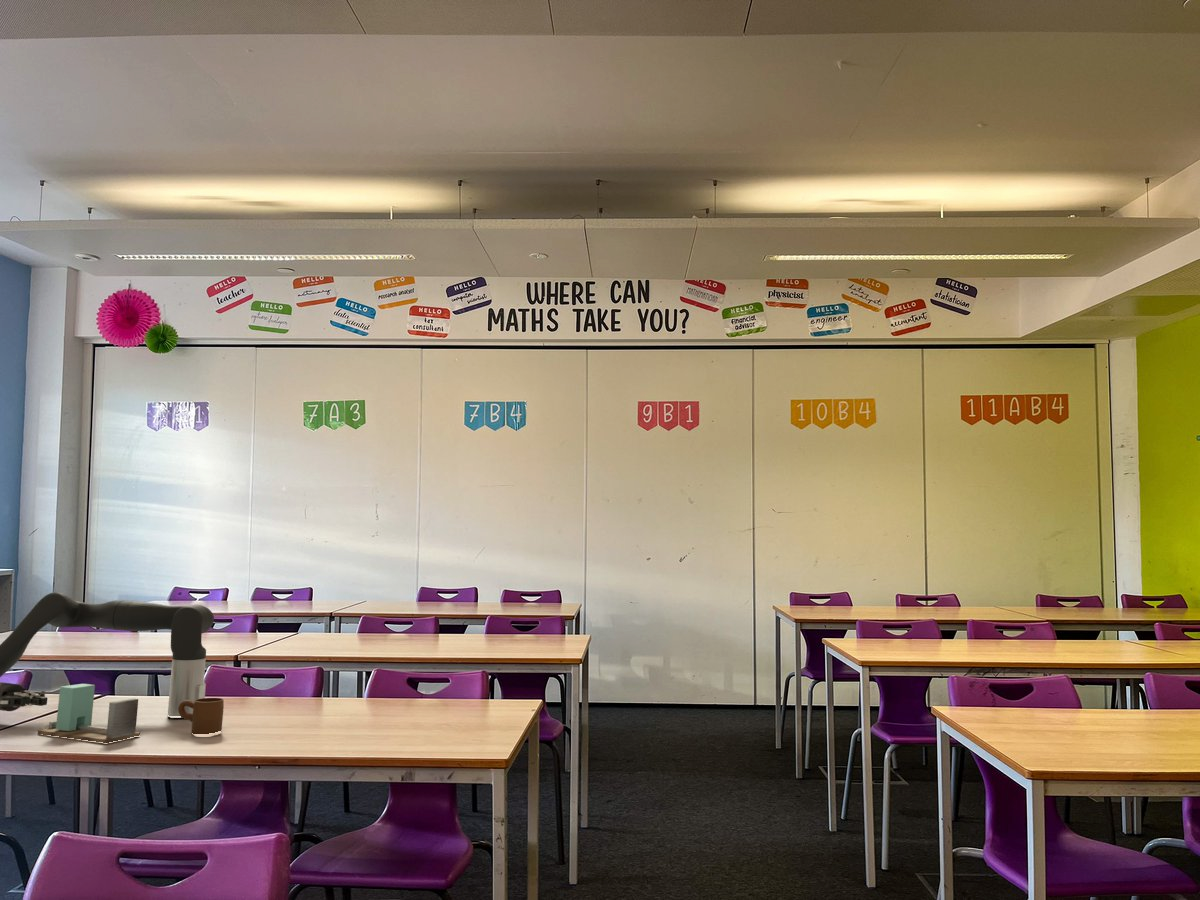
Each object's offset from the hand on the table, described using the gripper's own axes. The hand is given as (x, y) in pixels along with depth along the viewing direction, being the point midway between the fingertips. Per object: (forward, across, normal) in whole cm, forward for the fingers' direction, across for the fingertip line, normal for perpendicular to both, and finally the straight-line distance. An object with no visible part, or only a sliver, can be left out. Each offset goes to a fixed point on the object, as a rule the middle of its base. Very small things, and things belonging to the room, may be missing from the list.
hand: (44, 701), depth 231 cm
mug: (+43, +14, +8) cm, 46 cm away
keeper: (+12, 0, +6) cm, 14 cm away
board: (+18, 0, +8) cm, 20 cm away
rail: (+18, 0, +6) cm, 19 cm away
